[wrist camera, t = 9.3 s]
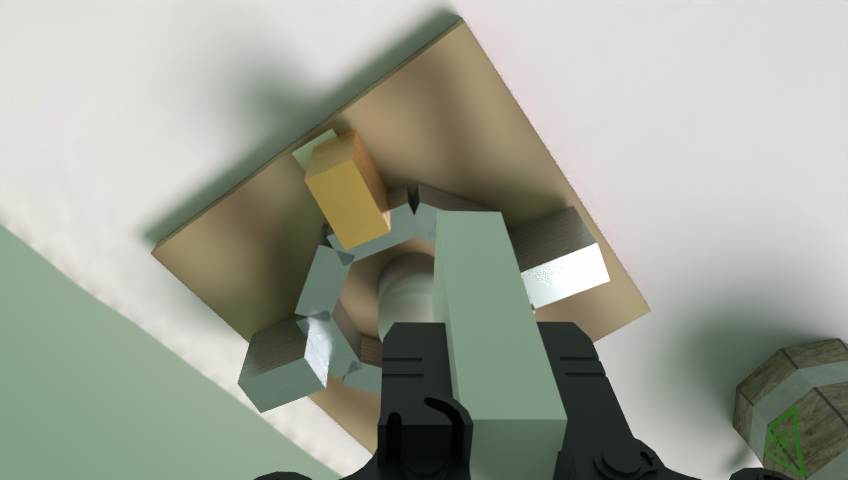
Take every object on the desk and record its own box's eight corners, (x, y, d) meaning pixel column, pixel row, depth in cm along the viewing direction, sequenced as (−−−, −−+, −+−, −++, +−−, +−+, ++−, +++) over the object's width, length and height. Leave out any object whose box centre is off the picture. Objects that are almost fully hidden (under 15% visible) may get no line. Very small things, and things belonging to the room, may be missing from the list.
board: (462, 17, 32) (477, 39, 27) (644, 300, 41) (680, 355, 36) (157, 243, 37) (121, 297, 32) (380, 448, 46) (379, 515, 41)
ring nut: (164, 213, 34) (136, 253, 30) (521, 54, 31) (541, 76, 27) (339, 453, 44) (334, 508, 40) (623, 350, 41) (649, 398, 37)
